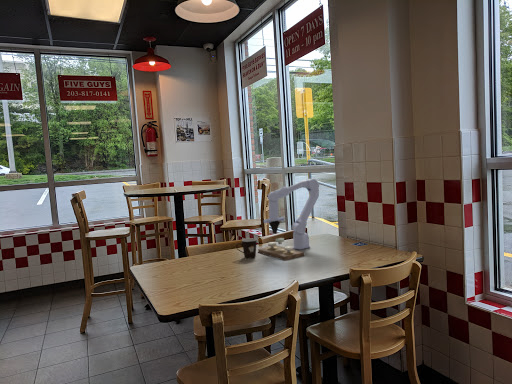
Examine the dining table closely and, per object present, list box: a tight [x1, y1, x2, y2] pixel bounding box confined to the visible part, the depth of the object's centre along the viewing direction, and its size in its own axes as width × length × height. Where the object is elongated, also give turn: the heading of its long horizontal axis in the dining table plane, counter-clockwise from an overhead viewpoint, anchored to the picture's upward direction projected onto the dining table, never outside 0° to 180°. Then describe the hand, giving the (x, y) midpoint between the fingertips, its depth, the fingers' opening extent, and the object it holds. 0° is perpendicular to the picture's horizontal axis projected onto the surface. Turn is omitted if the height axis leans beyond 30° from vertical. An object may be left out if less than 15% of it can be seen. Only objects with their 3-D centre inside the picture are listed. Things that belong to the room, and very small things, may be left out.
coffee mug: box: [235, 237, 258, 259], centre depth 220 cm, size 12×9×10 cm
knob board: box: [257, 244, 305, 261], centre depth 224 cm, size 14×26×2 cm, turn 34°
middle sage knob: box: [275, 237, 285, 245], centre depth 224 cm, size 5×5×3 cm
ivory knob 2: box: [283, 245, 294, 253], centre depth 217 cm, size 5×5×3 cm
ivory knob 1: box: [267, 241, 277, 248], centre depth 230 cm, size 5×5×3 cm
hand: (274, 233), depth 234 cm, fingers closed
